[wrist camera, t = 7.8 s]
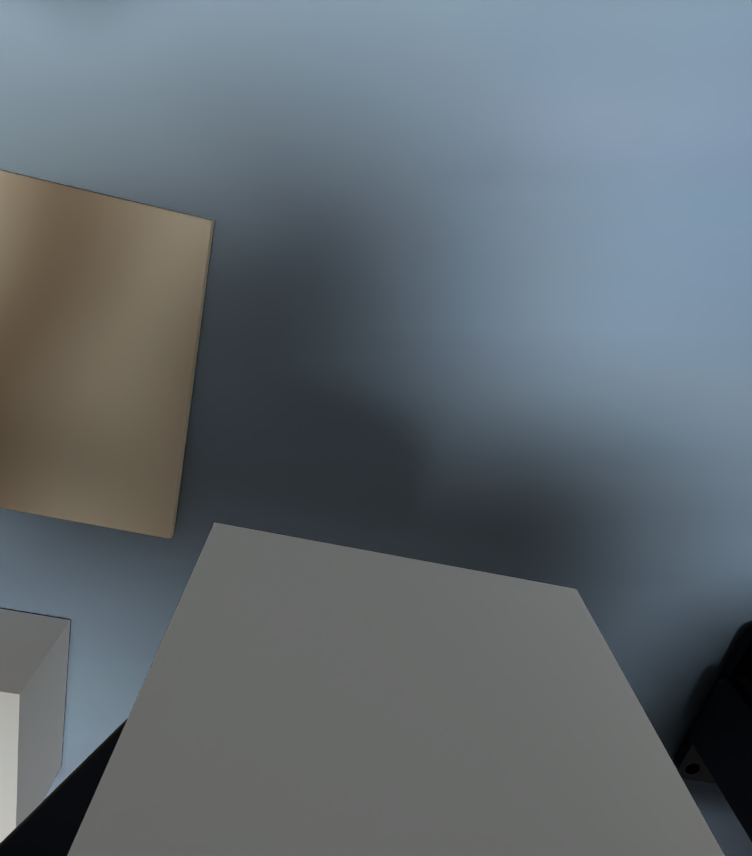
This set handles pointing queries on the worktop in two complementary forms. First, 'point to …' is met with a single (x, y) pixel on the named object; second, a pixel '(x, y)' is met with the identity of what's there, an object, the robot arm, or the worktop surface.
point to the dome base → (30, 710)
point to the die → (383, 719)
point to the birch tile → (96, 353)
